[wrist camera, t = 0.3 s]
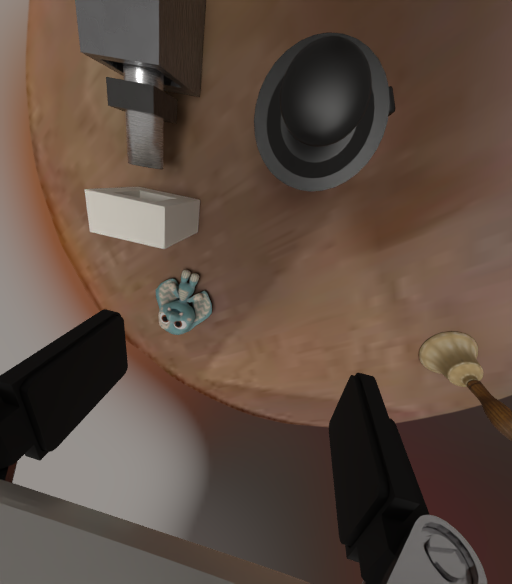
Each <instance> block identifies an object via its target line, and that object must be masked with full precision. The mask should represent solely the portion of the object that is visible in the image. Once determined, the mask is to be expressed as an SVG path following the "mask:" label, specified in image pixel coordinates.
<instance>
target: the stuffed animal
mask: <svg viewBox="0 0 512 584" xmlns="http://www.w3.org/2000/svg"><path fill="white" fill-rule="evenodd" d="M190 274H191V272H190V271H188V270H183V272H182V275H181V283H180V285H179V284H178V282H177V280H176V279H168V280H166V281H165V282H163V283H161V284H160V285H159V286H158V288H157V289H156V298H157V301H158V305H159V308H160V311H159V324H160V326H161V327H162V328H163V329H165V330H166V331H168V332H169V333H171V334H176V335H180V334H183V333H185V332H188V331H190V330H191V329H192V328H194V327H195V326H196V325H198V324H199V323H201V322H202V321H204V320H205V319H207V318H208V317H209V316H210V314H211V313H212V305H211V301H210V299H209V296H208V294H207V292H206V291H202V292H200V293H198V294H195V295H194V296H192V297H191V298H190V296H191V295H192V294H193V293H194V290H195V285H196V284H197V283H198V280H199V275H198V274H196V273H193V274H191V277H190ZM189 277H190V283H187V281H188V279H189ZM178 299H179V300H178ZM187 302H189V303H190V302H192V303H193V308H192V307H191V306H190V305H189V304H188V303H187Z"/></svg>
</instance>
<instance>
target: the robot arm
mask: <svg viewBox="0 0 512 584" xmlns="http://www.w3.org/2000/svg"><path fill="white" fill-rule="evenodd" d="M127 368H128V364H127V352H126V341H125V330H124V320H123V318H122V317H121V315H120V314H119V313H118V312H114V311H110V310H102V311H100V312H99V313H97V314H95V315H94V316H92V317H91V318H89V319H88V320H86V321H84V322H83V323H82V324H80V325H78V326H77V327H75V328H74V329H72V330H70V331H69V332H67V333H66V334H64V335H63V336H61V337H60V338H58V339H56V340H55V341H53V342H52V343H50V344H49V345H47V346H46V347H44V348H43V349H41V350H40V351H38V352H37V353H35V354H33V355H32V356H30V357H29V358H27V359H25V360H24V361H22V362H21V363H19V364H18V365H16V366H15V367H13V368H11V369H10V370H8V371H7V372H5V373H4V374H2V375H1V376H0V584H311V583H308V582H306V581H303V580H300V579H297V578H294V577H292V576H289V575H286V574H283V573H281V572H278V571H275V570H272V569H269V568H266V567H263V566H260V565H257V564H254V563H251V562H248V561H246V560H243V559H240V558H237V557H234V556H231V555H228V554H225V553H222V552H219V551H216V550H213V549H210V548H207V547H204V546H201V545H198V544H195V543H192V542H189V541H186V540H183V539H180V538H177V537H174V536H171V535H168V534H165V533H162V532H159V531H156V530H153V529H150V528H147V527H144V526H141V525H138V524H135V523H132V522H129V521H126V520H123V519H120V518H117V517H114V516H111V515H108V514H105V513H102V512H99V511H96V510H93V509H90V508H87V507H84V506H81V505H78V504H74V503H72V502H69V501H65V500H62V499H60V498H56V497H53V496H50V495H47V494H44V493H41V492H38V491H35V490H32V489H29V488H26V487H23V486H20V485H16V484H13V483H12V481H13V477H14V473H15V469H16V464H17V461H18V460H19V459H20V458H21V456H23V455H24V454H25V455H26V456H28V457H31V458H34V459H37V460H41V459H42V458H43V457H44V456H45V455H46V454H47V453H48V452H49V451H53V450H54V449H56V448H57V447H58V446H59V445H60V444H61V442H62V441H63V440H64V439H65V438H66V437H67V436H68V435H69V434H70V433H71V432H72V431H73V430H74V428H75V427H76V426H77V425H78V424H79V423H80V422H81V421H82V420H83V419H84V418H85V416H86V415H87V414H88V413H89V412H90V411H91V410H92V409H93V408H94V407H95V406H96V404H98V402H99V401H100V400H101V399H102V398H103V397H104V396H105V395H106V394H107V393H108V392H109V391H110V390H111V388H112V387H113V386H114V385H115V384H116V383H117V382H118V381H119V380H120V379H121V378H122V377H123V375H124V374H125V373H126V371H127ZM329 437H330V448H331V457H332V468H333V478H334V487H335V488H334V489H335V498H336V509H337V520H338V529H339V538H340V541H341V543H342V544H345V546H346V555H347V559H351V560H353V561H356V562H359V563H360V570H361V577H362V578H363V580H364V581H363V583H362V584H487V580H486V576H485V573H484V570H483V567H482V565H481V563H480V561H479V559H478V557H477V555H476V553H475V552H474V550H473V549H472V548H471V546H470V545H469V544H468V542H467V541H466V539H465V538H464V537H463V536H462V535H461V534H460V533H459V532H458V531H457V530H456V529H455V528H453V527H452V526H451V525H450V524H448V523H447V522H446V521H444V520H442V519H440V518H438V517H436V516H432V515H429V512H428V509H427V507H426V504H425V502H424V499H423V496H422V493H421V491H420V488H419V485H418V483H417V480H416V477H415V475H414V472H413V469H412V467H411V464H410V461H409V459H408V456H407V453H406V451H405V448H404V445H403V443H402V440H401V437H400V434H399V432H398V429H397V426H396V424H395V422H394V421H393V420H392V419H389V416H388V413H387V411H386V408H385V405H384V402H383V399H382V397H381V394H380V391H379V388H378V385H377V383H376V380H375V378H374V377H373V376H370V375H366V374H362V373H357V374H356V375H355V376H353V375H351V376H350V378H349V380H348V382H347V384H346V387H345V389H344V391H343V393H342V396H341V398H340V400H339V402H338V404H337V407H336V409H335V411H334V413H333V416H332V418H331V420H330V423H329Z"/></svg>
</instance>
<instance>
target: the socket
mask: <svg viewBox="0 0 512 584" xmlns="http://www.w3.org/2000/svg"><path fill="white" fill-rule="evenodd" d="M85 196H86V204H87V212H88V220H89V228H90V232H94V233H98V234H102V235H107V236H111V237H115V238H119V239H124V240H128V241H132V242H136V243H141V244H145V245H149V246H153V247H158V248H162V249H166V248H168V247H170V246H172V245H174V244H176V243H178V242H180V241H182V240H184V239H186V238H188V237H190V236H192V235H194V234H196V233H198V224H199V210H200V200H199V199H194V198H190V197H185V196H180V195H176V194H171V193H166V192H162V191H157V190H152V189H148V188H143V187H121V188H100V189H85Z"/></svg>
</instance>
